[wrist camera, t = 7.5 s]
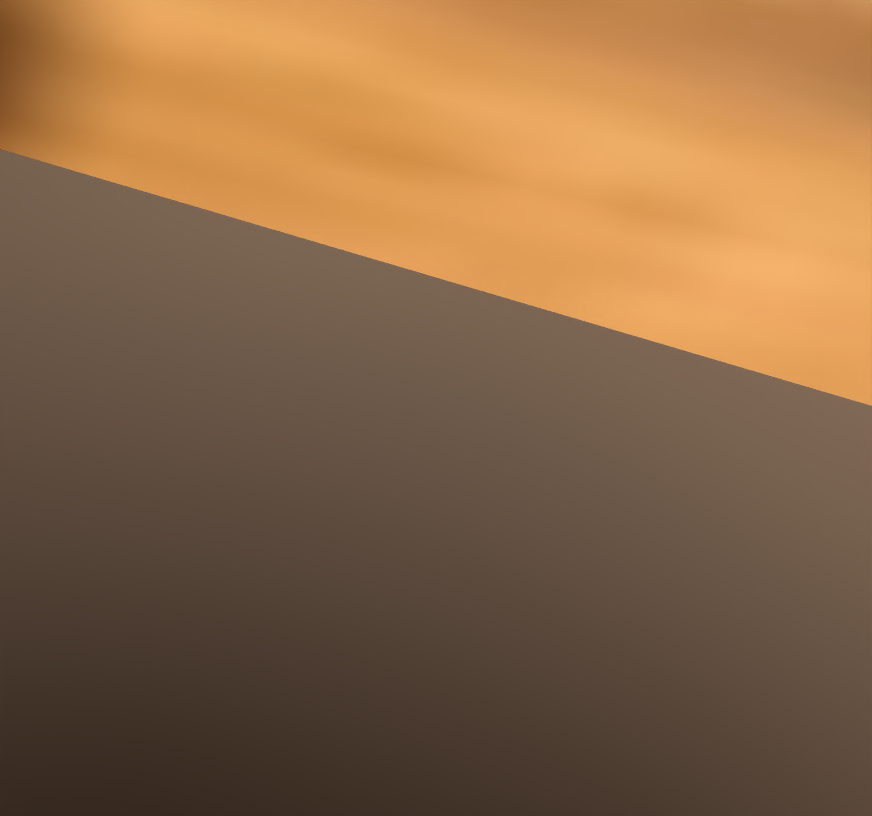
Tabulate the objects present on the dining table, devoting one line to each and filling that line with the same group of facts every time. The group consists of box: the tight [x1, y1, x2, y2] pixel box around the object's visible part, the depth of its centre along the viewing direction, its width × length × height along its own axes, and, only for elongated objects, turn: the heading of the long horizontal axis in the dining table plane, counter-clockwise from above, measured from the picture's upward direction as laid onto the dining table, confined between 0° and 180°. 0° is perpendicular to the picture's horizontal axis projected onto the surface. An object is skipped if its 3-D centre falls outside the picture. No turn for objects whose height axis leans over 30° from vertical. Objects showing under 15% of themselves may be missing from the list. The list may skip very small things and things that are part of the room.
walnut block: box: [0, 149, 872, 816], centre depth 9 cm, size 5×5×13 cm
